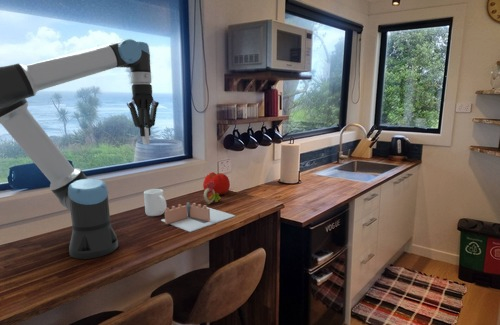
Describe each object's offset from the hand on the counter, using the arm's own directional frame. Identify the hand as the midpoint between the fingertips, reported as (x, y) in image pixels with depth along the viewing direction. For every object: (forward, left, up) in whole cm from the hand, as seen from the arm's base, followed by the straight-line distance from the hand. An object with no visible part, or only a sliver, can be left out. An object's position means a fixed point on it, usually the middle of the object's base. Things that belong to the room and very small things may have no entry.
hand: (146, 144), depth 140 cm
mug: (+7, +7, -33) cm, 34 cm away
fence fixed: (+8, -8, -32) cm, 34 cm away
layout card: (+15, -12, -32) cm, 38 cm away
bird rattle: (+34, +2, -33) cm, 47 cm away
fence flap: (+14, -14, -32) cm, 37 cm away
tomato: (+46, +12, -33) cm, 58 cm away
